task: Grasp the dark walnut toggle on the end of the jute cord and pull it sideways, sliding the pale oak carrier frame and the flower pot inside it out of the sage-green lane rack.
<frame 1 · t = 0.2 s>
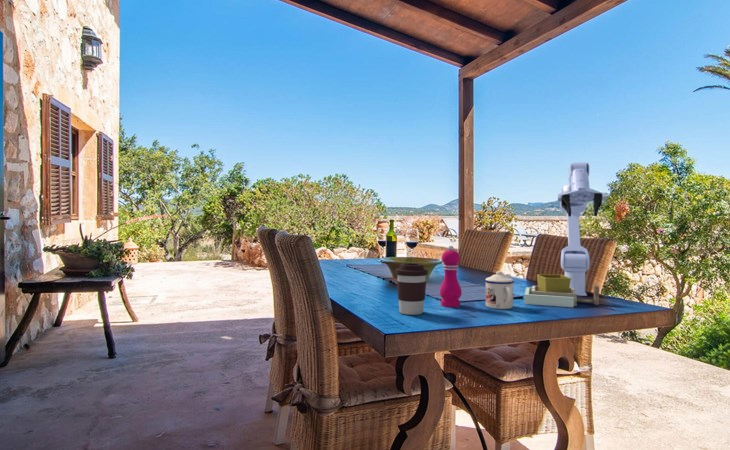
hand: (582, 214, 148), 31 cm above the table, tool tilted 45°, fingers open, 7 cm apart
pepper mill: (450, 306, 151), on the table
coffee cup: (411, 313, 139), on the table
flower pot: (553, 302, 159), resting in carrier frame
carrier frame: (564, 293, 157), point 3 cm above the table, slide at 0.0 cm
lane rack: (553, 301, 159), on the table
teacup with lid: (501, 308, 148), on the table
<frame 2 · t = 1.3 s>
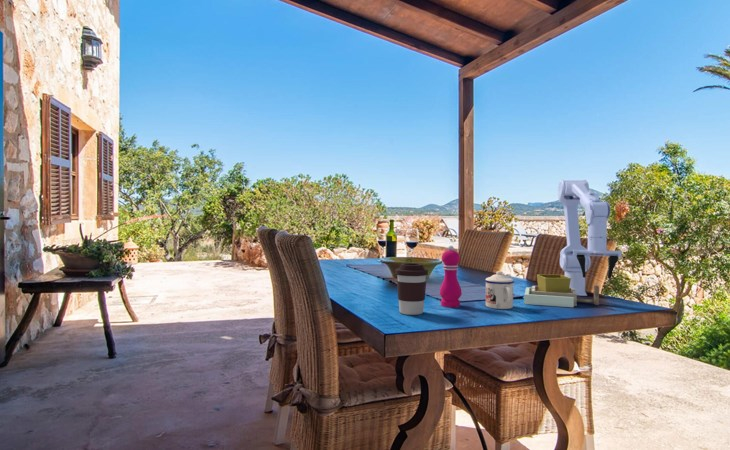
hand: (596, 277, 154), 9 cm above the table, tool pointing down, fingers open, 7 cm apart
nothing on the table moved.
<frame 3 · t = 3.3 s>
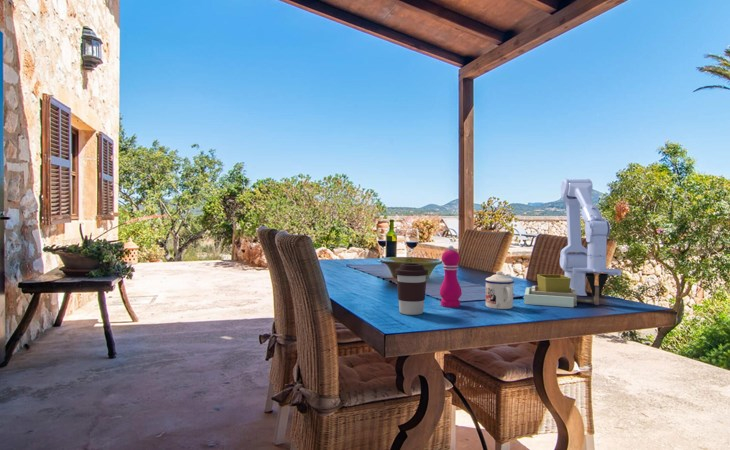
hand: (596, 295, 154), 3 cm above the table, tool pointing down, fingers closed on carrier frame
carrier frame: (564, 293, 157), point 3 cm above the table, slide at 0.0 cm, touching gripper
everything else where it was.
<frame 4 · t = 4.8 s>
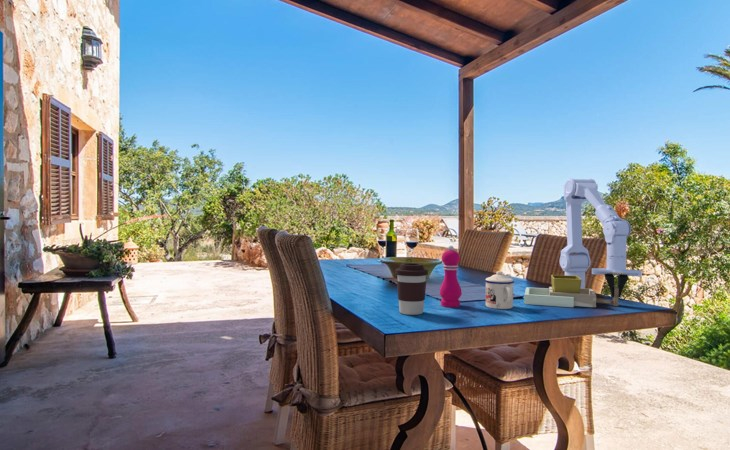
hand: (615, 296, 152), 3 cm above the table, tool pointing down, fingers closed
flower pot: (565, 303, 156), resting in carrier frame
carrier frame: (582, 294, 155), point 3 cm above the table, slide at 5.8 cm, touching flower pot, gripper
everything else where it was.
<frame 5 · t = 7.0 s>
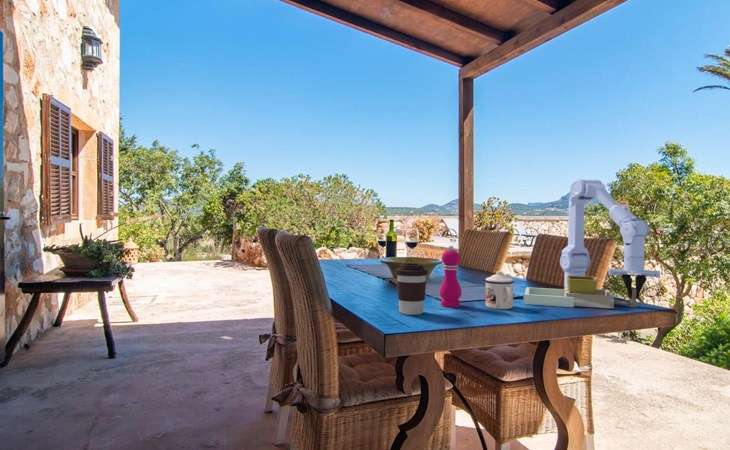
hand: (633, 298, 150), 3 cm above the table, tool pointing down, fingers closed, pressing on carrier frame
flower pot: (581, 304, 154), resting in carrier frame
carrier frame: (599, 295, 154), point 3 cm above the table, slide at 10.9 cm, touching flower pot, gripper
everything else where it was.
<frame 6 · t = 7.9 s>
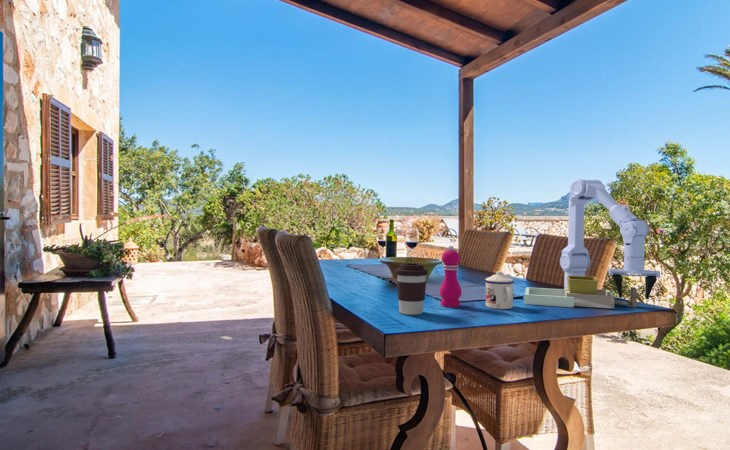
hand: (633, 298, 150), 3 cm above the table, tool pointing down, fingers open, 7 cm apart
flower pot: (581, 304, 154), resting in carrier frame
carrier frame: (599, 295, 153), point 3 cm above the table, slide at 11.0 cm
everything else where it was.
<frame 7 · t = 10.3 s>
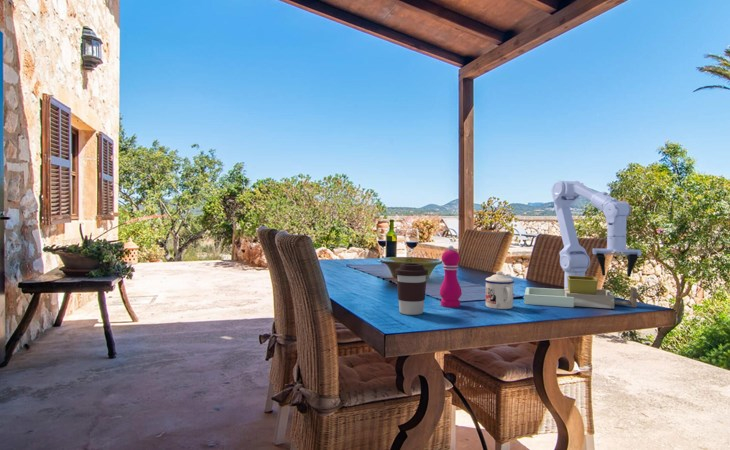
hand: (616, 275, 156), 9 cm above the table, tool pointing down, fingers open, 7 cm apart
nothing on the table moved.
at the end: flower pot inside the target area (2.9 cm from its centre), resting in carrier frame; flower pot tilted 0°; carrier frame slide at 11.0 cm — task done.
